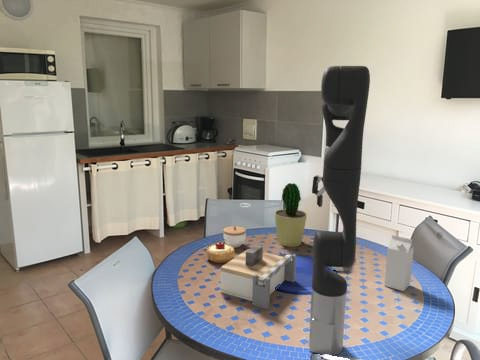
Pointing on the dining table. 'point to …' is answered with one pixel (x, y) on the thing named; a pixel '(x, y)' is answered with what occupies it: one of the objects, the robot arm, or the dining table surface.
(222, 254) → the pastry
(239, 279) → the white open box
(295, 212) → the potted cactus
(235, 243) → the lidded jar
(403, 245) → the milk carton
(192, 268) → the dining table surface
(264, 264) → the door
